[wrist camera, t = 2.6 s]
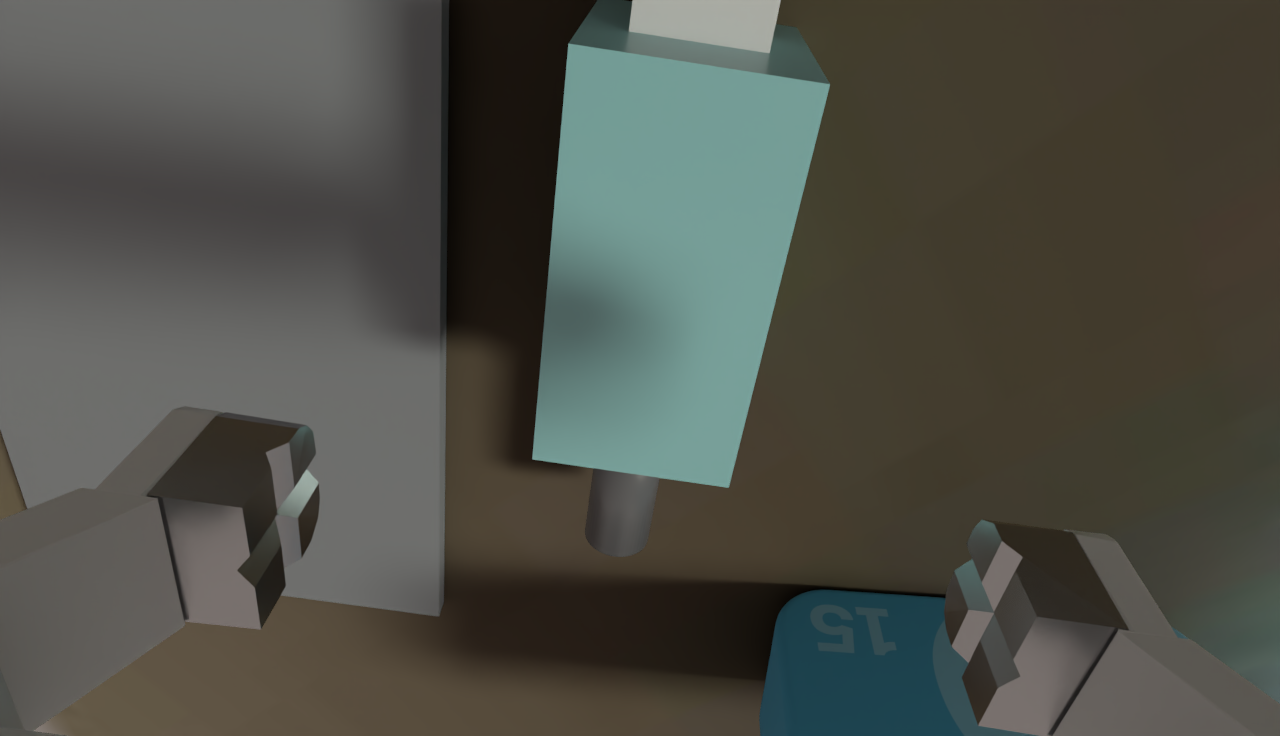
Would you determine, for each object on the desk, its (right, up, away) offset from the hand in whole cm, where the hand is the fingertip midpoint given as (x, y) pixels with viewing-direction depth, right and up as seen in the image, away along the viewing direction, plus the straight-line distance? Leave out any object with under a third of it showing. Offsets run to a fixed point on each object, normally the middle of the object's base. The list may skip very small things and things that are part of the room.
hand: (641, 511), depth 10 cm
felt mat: (-11, +3, +11) cm, 16 cm away
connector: (+1, +6, +9) cm, 10 cm away
